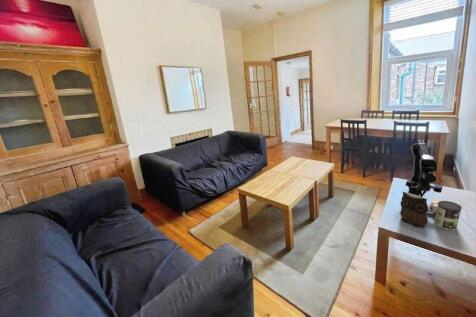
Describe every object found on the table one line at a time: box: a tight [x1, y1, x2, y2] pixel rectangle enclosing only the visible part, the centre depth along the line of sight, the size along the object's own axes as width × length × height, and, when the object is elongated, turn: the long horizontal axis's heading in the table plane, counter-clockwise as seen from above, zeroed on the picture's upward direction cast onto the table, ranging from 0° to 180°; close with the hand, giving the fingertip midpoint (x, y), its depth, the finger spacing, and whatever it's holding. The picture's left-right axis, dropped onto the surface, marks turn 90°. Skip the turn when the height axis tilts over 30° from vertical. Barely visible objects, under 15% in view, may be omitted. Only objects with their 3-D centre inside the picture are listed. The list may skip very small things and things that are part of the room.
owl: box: [399, 191, 429, 229], centre depth 139 cm, size 13×13×20 cm
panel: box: [426, 203, 436, 218], centre depth 146 cm, size 12×12×3 cm
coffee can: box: [433, 200, 462, 231], centre depth 134 cm, size 10×10×14 cm
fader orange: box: [430, 200, 439, 208], centre depth 149 cm, size 3×2×4 cm
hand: (421, 196), depth 153 cm, fingers closed
